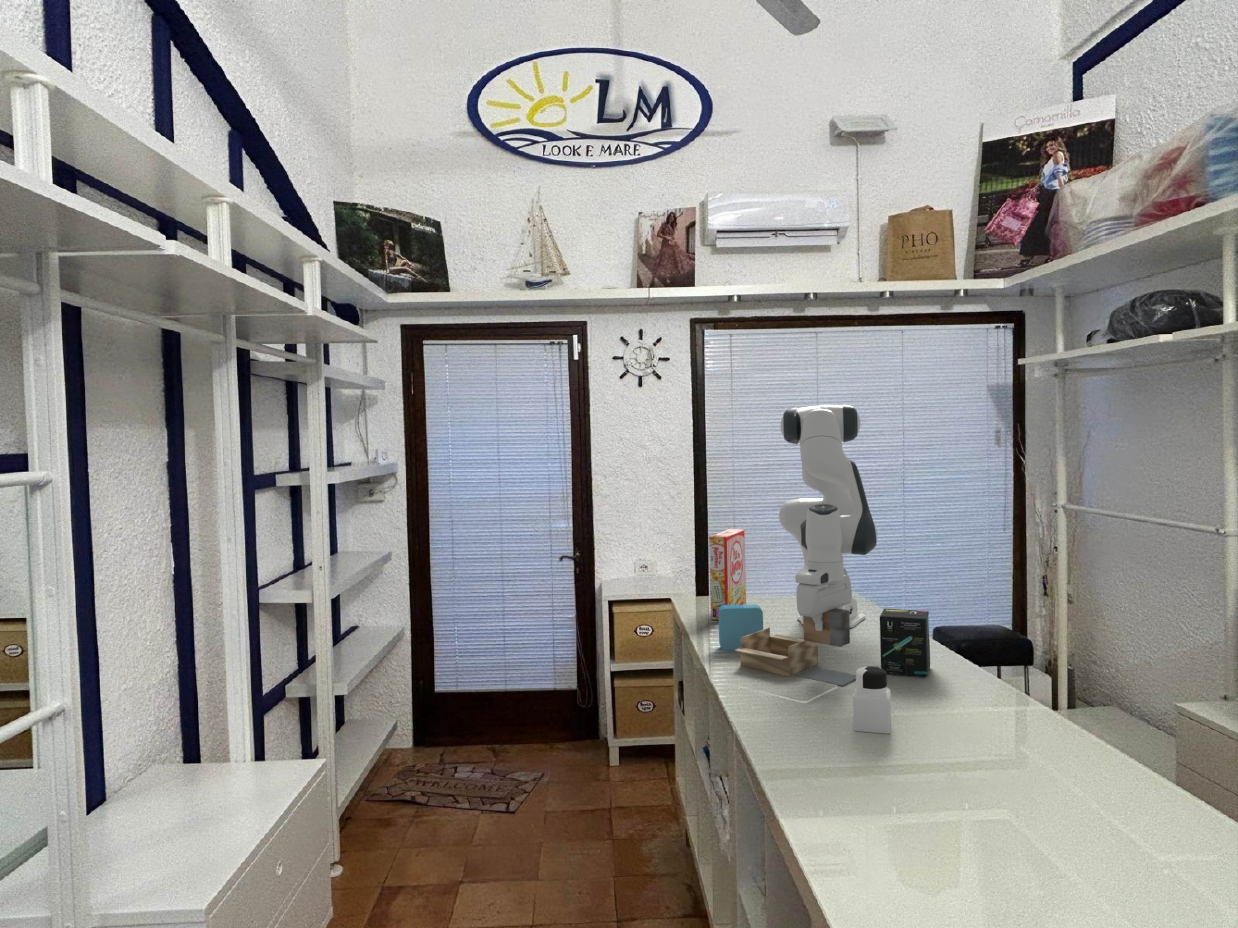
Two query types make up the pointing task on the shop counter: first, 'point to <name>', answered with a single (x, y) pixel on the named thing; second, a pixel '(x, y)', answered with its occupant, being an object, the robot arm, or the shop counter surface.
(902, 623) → the tampon box
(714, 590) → the popcorn box
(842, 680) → the mat
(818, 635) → the walnut box
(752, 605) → the blue rounded block
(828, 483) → the robot arm
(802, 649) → the carton
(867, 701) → the medicine bottle
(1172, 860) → the shop counter surface
